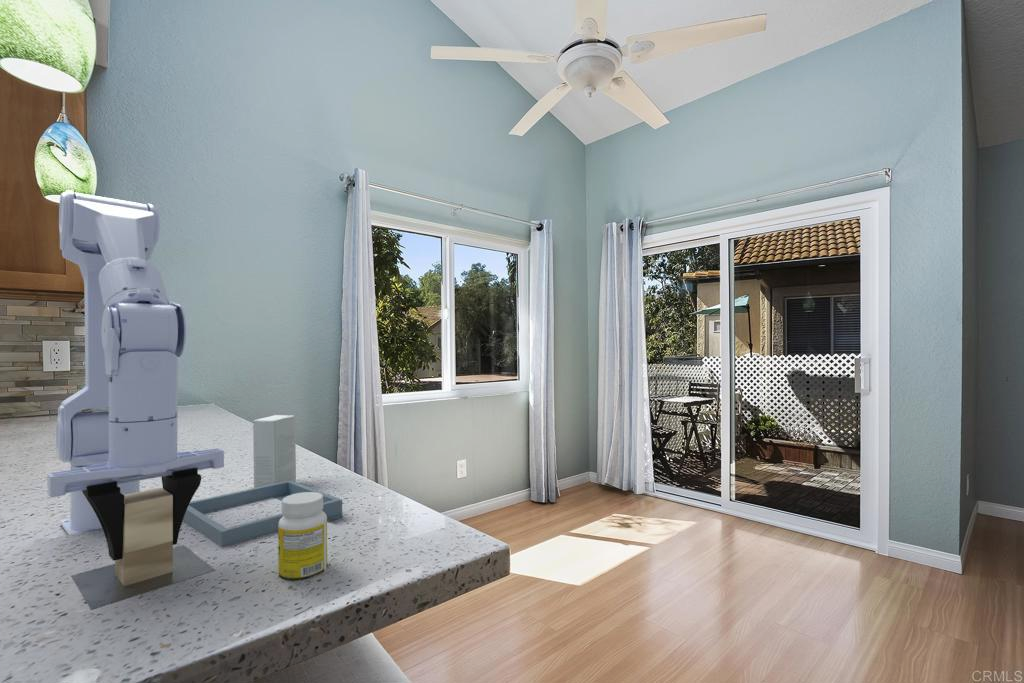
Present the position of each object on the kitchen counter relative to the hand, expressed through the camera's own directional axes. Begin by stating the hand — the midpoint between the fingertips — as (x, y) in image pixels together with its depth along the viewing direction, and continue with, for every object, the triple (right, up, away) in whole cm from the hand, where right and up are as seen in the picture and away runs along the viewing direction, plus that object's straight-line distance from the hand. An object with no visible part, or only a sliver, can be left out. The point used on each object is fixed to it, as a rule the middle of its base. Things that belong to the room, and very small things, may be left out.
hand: (143, 549), depth 51 cm
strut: (0, -2, 0) cm, 2 cm away
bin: (+3, -3, +18) cm, 18 cm away
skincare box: (-3, -4, +34) cm, 34 cm away
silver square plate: (0, -3, 0) cm, 3 cm away
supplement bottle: (+16, -3, +1) cm, 17 cm away
